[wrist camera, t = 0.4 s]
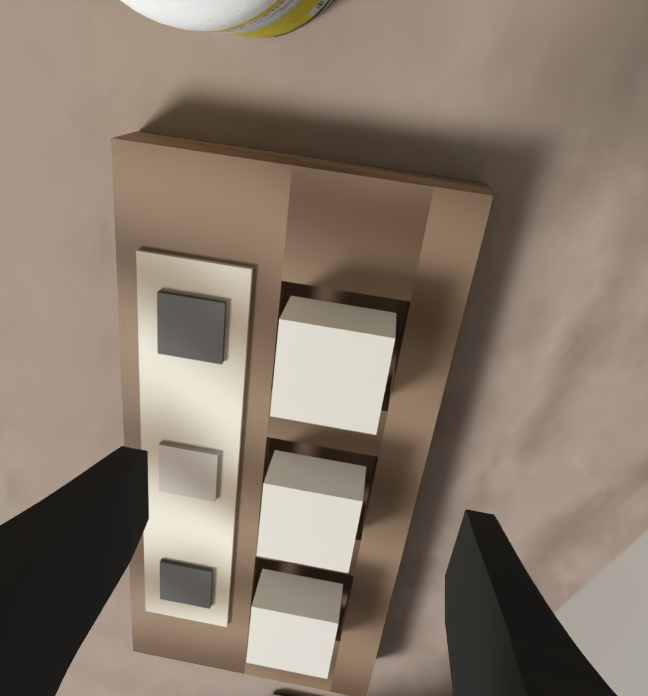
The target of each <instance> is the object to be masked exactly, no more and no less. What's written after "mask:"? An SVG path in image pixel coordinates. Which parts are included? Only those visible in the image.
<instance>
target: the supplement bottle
mask: <svg viewBox="0 0 648 696" xmlns="http://www.w3.org/2000/svg"><path fill="white" fill-rule="evenodd" d="M121 1H122V2H123V3H125V4H126V5H128V6H129V7H130V8H132V9H133V10H135V11H137V12H138V13H140V14H142V15H144V16H145V17H148V18H150V19H152V20H154V21H157V22H159V23H162V24H165V25H168V26H172V27H175V28H179V29H184V30H190V31H197V32H208V33H216V34H227V35H235V36H246V37H277V36H281V35H285V34H288V33H291V32H293V31H296V30H298V29H300V28H302V27H303V26H305V25H307V24H308V23H310V22H311V21H313V20H314V19H315V18H316V17H318V16H319V15H320V14H321V13H322V12H323V11H324V10H325V9H326V7H327V6H328V5H329V4H330V2H331V1H332V0H121Z"/></svg>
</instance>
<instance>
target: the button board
mask: <svg viewBox="0 0 648 696" xmlns="http://www.w3.org/2000/svg"><path fill="white" fill-rule="evenodd" d="M111 142H112V166H113V189H114V213H115V236H116V259H117V283H118V306H119V330H120V353H121V377H122V400H123V424H124V447H130V448H135V449H141V450H146V451H148V495H149V520H148V522H147V525H146V527H145V529H144V532H143V534H142V537H141V539H140V541H139V544H138V546H137V548H136V550H135V552H134V555H133V557H132V559H131V561H130V563H129V564H130V588H131V611H132V635H133V651H135V652H140V653H145V654H150V655H155V656H160V657H165V658H170V659H175V660H180V661H184V662H189V663H194V664H199V665H204V666H209V667H214V668H219V669H224V670H229V671H233V672H238V673H243V674H248V675H253V676H258V677H263V678H268V679H273V680H277V681H282V682H287V683H292V684H297V685H302V686H307V687H312V688H317V689H322V690H326V691H331V692H336V693H341V694H346V695H351V696H366V695H367V691H368V687H369V683H370V679H371V675H372V671H373V668H374V664H375V660H376V656H377V652H378V648H379V644H380V640H381V636H382V632H383V628H384V624H385V620H386V616H387V613H388V609H389V605H390V601H391V597H392V593H393V589H394V585H395V581H396V577H397V573H398V569H399V565H400V561H401V558H402V554H403V550H404V546H405V542H406V538H407V534H408V530H409V526H410V522H411V518H412V514H413V510H414V506H415V503H416V499H417V495H418V491H419V487H420V483H421V479H422V475H423V471H424V467H425V463H426V459H427V455H428V452H429V448H430V444H431V440H432V436H433V432H434V428H435V424H436V420H437V416H438V412H439V408H440V404H441V400H442V397H443V393H444V389H445V385H446V381H447V377H448V373H449V369H450V365H451V361H452V357H453V353H454V349H455V345H456V342H457V338H458V334H459V330H460V326H461V322H462V318H463V314H464V310H465V306H466V302H467V298H468V294H469V291H470V287H471V283H472V279H473V275H474V271H475V267H476V263H477V259H478V255H479V251H480V247H481V243H482V239H483V236H484V232H485V228H486V224H487V220H488V216H489V212H490V208H491V204H492V200H493V194H492V193H491V191H490V189H489V188H488V186H487V185H486V183H479V182H473V181H466V180H459V179H453V178H446V177H439V176H433V175H426V174H419V173H413V172H406V171H399V170H393V169H386V168H379V167H372V166H366V165H359V164H352V163H346V162H339V161H332V160H326V159H319V158H312V157H306V156H299V155H292V154H286V153H279V152H272V151H266V150H259V149H252V148H245V147H239V146H232V145H225V144H219V143H212V142H205V141H199V140H192V139H185V138H179V137H172V136H165V135H159V134H152V133H145V132H139V131H137V132H133V133H129V134H126V135H122V136H118V137H114V138H111ZM290 296H296V297H302V298H308V299H314V300H320V301H327V302H333V303H339V304H345V305H351V306H357V307H363V308H369V309H375V310H381V311H387V312H394V313H396V336H395V343H394V348H393V353H392V358H391V363H390V368H389V373H388V378H387V383H386V388H385V393H384V398H383V403H382V408H381V413H380V418H379V423H378V428H377V433H376V435H373V434H368V433H362V432H356V431H351V430H345V429H339V428H334V427H328V426H323V425H317V424H311V423H306V422H300V421H294V420H289V419H283V418H277V417H272V416H270V410H271V399H272V389H273V378H274V368H275V358H276V347H277V337H278V326H279V318H280V316H281V314H282V312H283V310H284V308H285V306H286V304H287V302H288V300H289V298H290ZM275 450H278V451H283V452H289V453H294V454H300V455H305V456H311V457H316V458H322V459H327V460H333V461H339V462H344V463H350V464H355V465H361V466H366V474H365V484H364V494H363V503H362V508H361V513H360V518H359V523H358V528H357V533H356V538H355V543H354V548H353V553H352V558H351V563H350V568H349V573H345V572H339V571H334V570H329V569H324V568H318V567H313V566H308V565H303V564H298V563H292V562H287V561H282V560H277V559H271V558H266V557H261V556H256V555H257V545H258V535H259V524H260V514H261V503H262V493H263V483H264V480H265V477H266V474H267V471H268V468H269V465H270V463H271V460H272V457H273V454H274V451H275ZM262 569H267V570H272V571H278V572H283V573H288V574H293V575H298V576H303V577H309V578H314V579H319V580H324V581H329V582H335V583H340V584H343V589H342V598H341V606H340V614H339V622H338V628H337V633H336V638H335V643H334V648H333V653H332V658H331V663H330V668H329V673H328V678H327V679H325V678H320V677H315V676H310V675H305V674H300V673H295V672H290V671H285V670H280V669H275V668H270V667H266V666H261V665H256V664H251V663H246V659H247V649H248V639H249V628H250V618H251V607H252V603H253V600H254V596H255V593H256V589H257V586H258V582H259V579H260V575H261V572H262Z"/></svg>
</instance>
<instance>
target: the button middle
mask: <svg viewBox="0 0 648 696" xmlns="http://www.w3.org/2000/svg"><path fill="white" fill-rule="evenodd" d="M365 474H366V466H361V465H355V464H350V463H344V462H339V461H333V460H327V459H322V458H316V457H311V456H305V455H300V454H294V453H289V452H283V451H278V450H275V451H274V454H273V457H272V460H271V463H270V465H269V468H268V471H267V474H266V477H265V480H264V483H263V493H262V503H261V514H260V524H259V535H258V545H257V555H256V556H261V557H266V558H271V559H277V560H282V561H287V562H292V563H298V564H303V565H308V566H313V567H318V568H324V569H329V570H334V571H339V572H345V573H349V568H350V563H351V558H352V553H353V548H354V543H355V538H356V533H357V528H358V523H359V518H360V513H361V508H362V503H363V494H364V484H365Z"/></svg>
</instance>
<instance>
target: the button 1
mask: <svg viewBox="0 0 648 696" xmlns="http://www.w3.org/2000/svg"><path fill="white" fill-rule="evenodd" d="M342 589H343V584H340V583H335V582H329V581H324V580H319V579H314V578H309V577H303V576H298V575H293V574H288V573H283V572H278V571H272V570H267V569H262V572H261V575H260V579H259V582H258V586H257V589H256V593H255V596H254V600H253V603H252V607H251V618H250V628H249V639H248V649H247V659H246V663H251V664H256V665H261V666H266V667H270V668H275V669H280V670H285V671H290V672H295V673H300V674H305V675H310V676H315V677H320V678H325V679H327V678H328V673H329V668H330V663H331V658H332V653H333V648H334V643H335V638H336V633H337V628H338V622H339V614H340V606H341V598H342Z"/></svg>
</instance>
